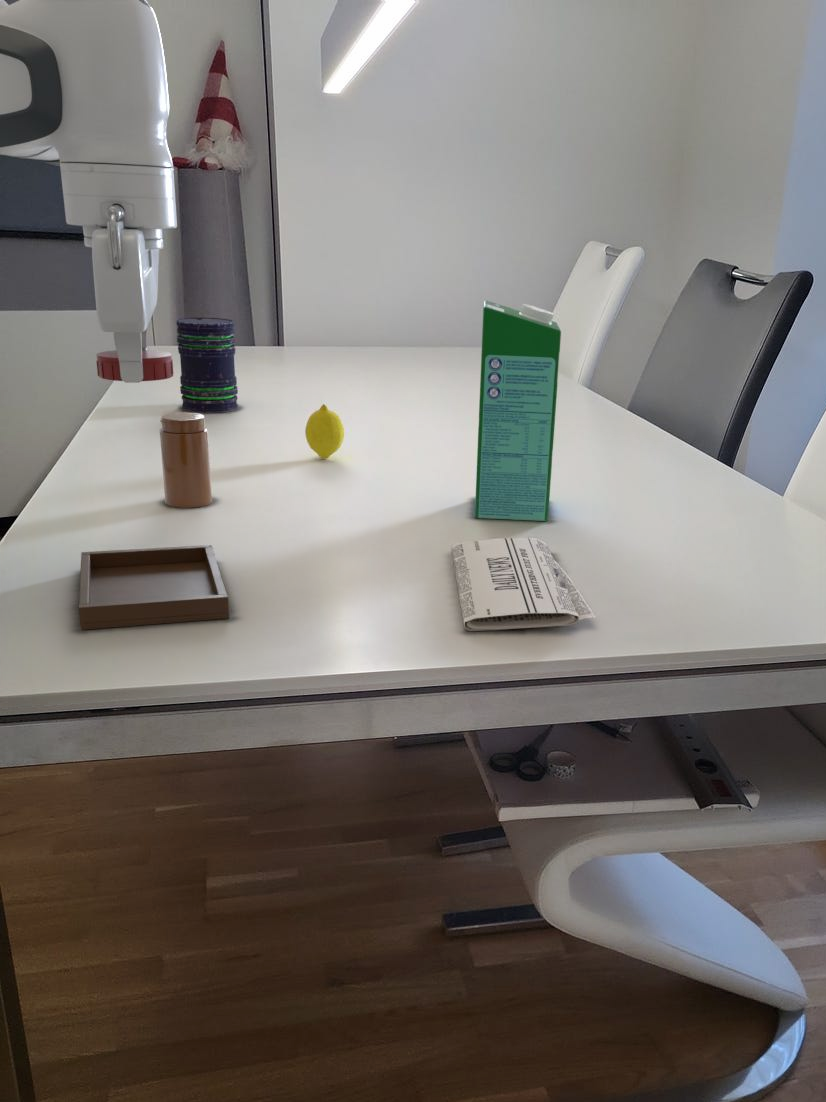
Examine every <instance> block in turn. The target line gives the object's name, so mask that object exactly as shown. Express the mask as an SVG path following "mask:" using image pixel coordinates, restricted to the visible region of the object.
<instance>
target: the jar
mask: <svg viewBox="0 0 826 1102" xmlns="http://www.w3.org/2000/svg"><path fill="white" fill-rule="evenodd" d="M205 421H206V420H205V415H203V413H199V412H190V411H187V412H185V411H183V412H181V411H179V412H170V413H164V414H162V415H161V417H160V423H161V428H159V439H160V440H159V442H160V453H161V466H162V480H163V492H164V494H163V495H164V504H165V505H166V506H168V507H173V508H178V509H179V508H181V509H193V508H201V507H206V506H208V505H210V504H212V502H213V499H212V498H213V497H212V481H211V480H212V479H211V462H210V447H209V446H210V445H209V429H208V428H207V427H206V422H205Z"/></svg>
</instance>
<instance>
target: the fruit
mask: <svg viewBox="0 0 826 1102" xmlns="http://www.w3.org/2000/svg"><path fill="white" fill-rule="evenodd" d="M304 432H305V439H306V442H307V444H308V446H309V448H310V449H311V450H312V451H313V452H314V453H316V454H317V456H318V458H320V459H322V460H326V459H328V458H329V457H331V456H332V455H333V454H334V453H336V452H338V450H339V449H340V448H341V446H342V444H343V441H344V439H345V438H344V437H345V430H344V426H343V423H342V420H341V418H340V416H339V414H337V413H335V412H334V411H332V410H330V409H328V406H327V405H326V404H324V403H323V404H322V405H320V408H319V409H317V410H316V411H314V412H313V413H311V414H310V416H309V418H308V419H307V422H306V426H305V431H304Z"/></svg>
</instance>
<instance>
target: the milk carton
mask: <svg viewBox="0 0 826 1102" xmlns="http://www.w3.org/2000/svg"><path fill="white" fill-rule="evenodd" d="M554 316H555V313H553V312H552V311H550V310H546V309H543V308H541V307H537V306H534V305H532V304H526V303H522V305H521V307H520V310H518V309H515V308H512V307H508V306H505V305H502V304H499V303H495V302H493V301H489V300H486V299H485V300H484V301H483V311H482V331H481V353H480V355H481V357H480V360H481V361H480V377H479V378H480V380H479V382H480V383H479V404H478V405H479V406H478V428H477V429H478V431H477V449H476V450H477V452H476V453H477V454H476V473H475V474H476V475H475V480H476V481H475V500H474V501H475V503H474V518H475V519H489V520H490V519H491V520H492V519H493V520H515V521H536V522H539V521H540V522H548V521H549V512H550V511H549V510H550V495H551V482H552V468H553V466H552V465H553V455H554V454H553V452H554V441H555V439H554V438H555V425H556V412H557V411H556V410H557V398H558V384H559V371H560V370H559V368H560V354H561V340H562V330H561V328H560V327H559V324H558V323H557V322H556V321H553V319H554Z"/></svg>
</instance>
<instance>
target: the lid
mask: <svg viewBox="0 0 826 1102" xmlns="http://www.w3.org/2000/svg"><path fill="white" fill-rule="evenodd" d="M142 360H143V372H144V377H143V380H142V381H141V382H154V381H162V380H167V379H171V378H173V377H174V364H173V363H174V361H173V355H172V353H171V352H168V351H164V350H163V351H162V350H155V349H154V350H152V349H147V350H142ZM96 370H97V372H96V373H97V377H98V378H100V379H103V380H107V381H115V382H123V381H122V379H121V374H120V364H119V359H118V354H117V350H116V349H115V350H106V351H101V352H97V353H96Z"/></svg>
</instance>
